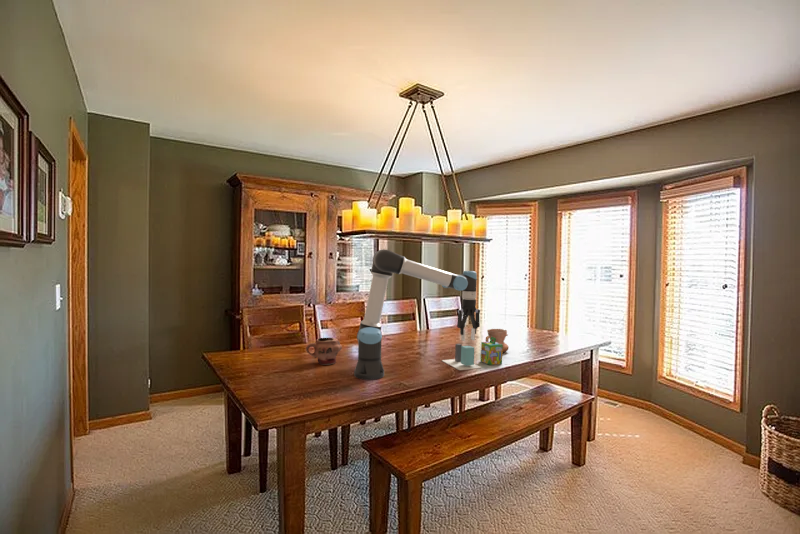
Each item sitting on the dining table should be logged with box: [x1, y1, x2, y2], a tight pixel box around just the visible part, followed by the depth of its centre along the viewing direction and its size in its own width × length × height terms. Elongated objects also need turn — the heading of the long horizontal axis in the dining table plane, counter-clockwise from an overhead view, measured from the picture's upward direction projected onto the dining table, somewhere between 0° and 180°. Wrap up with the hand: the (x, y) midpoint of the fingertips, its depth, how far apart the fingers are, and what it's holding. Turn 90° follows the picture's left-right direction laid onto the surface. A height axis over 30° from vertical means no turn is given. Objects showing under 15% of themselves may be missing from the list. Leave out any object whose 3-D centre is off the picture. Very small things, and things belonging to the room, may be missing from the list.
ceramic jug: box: [485, 328, 509, 354], centre depth 267 cm, size 18×14×14 cm
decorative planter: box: [305, 337, 343, 366], centre depth 229 cm, size 20×12×14 cm, turn 119°
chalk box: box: [480, 337, 503, 366], centre depth 239 cm, size 9×9×15 cm
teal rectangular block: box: [461, 345, 475, 366], centre depth 229 cm, size 5×5×10 cm
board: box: [441, 358, 482, 371], centre depth 234 cm, size 14×20×1 cm
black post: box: [454, 343, 463, 362], centre depth 239 cm, size 3×3×10 cm
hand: (468, 340), depth 229 cm, fingers open, 6 cm apart
